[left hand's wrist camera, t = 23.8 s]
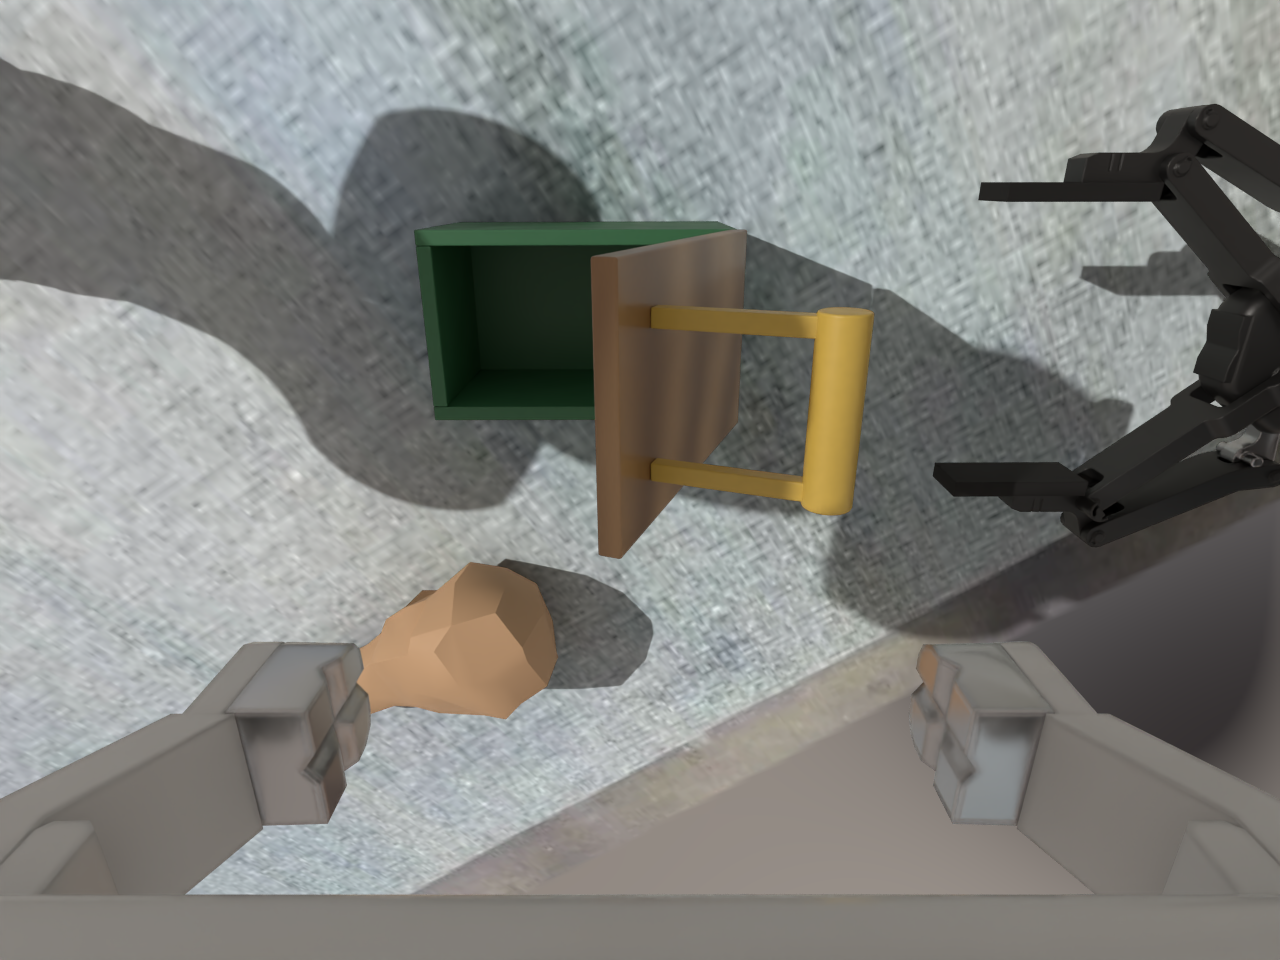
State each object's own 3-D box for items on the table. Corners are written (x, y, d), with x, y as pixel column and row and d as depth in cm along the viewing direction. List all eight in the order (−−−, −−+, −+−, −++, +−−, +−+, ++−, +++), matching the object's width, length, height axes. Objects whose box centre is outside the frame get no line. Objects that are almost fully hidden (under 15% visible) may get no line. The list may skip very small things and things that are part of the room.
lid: (597, 556, 25) (835, 598, 22) (589, 256, 21) (873, 264, 18) (722, 421, 39) (875, 437, 36) (730, 229, 35) (900, 231, 33)
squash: (593, 624, 56) (581, 722, 48) (390, 699, 61) (352, 797, 54) (514, 524, 50) (487, 617, 43) (300, 617, 56) (244, 713, 49)
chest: (473, 377, 48) (434, 420, 39) (458, 222, 45) (413, 229, 36) (712, 377, 48) (729, 419, 39) (718, 221, 45) (737, 229, 36)
